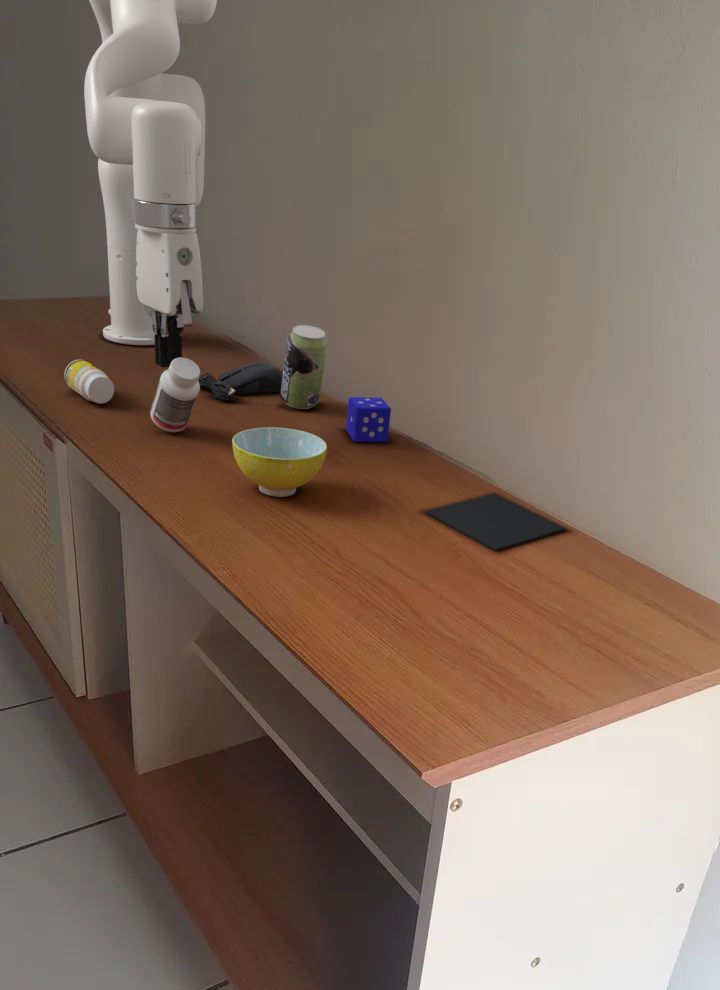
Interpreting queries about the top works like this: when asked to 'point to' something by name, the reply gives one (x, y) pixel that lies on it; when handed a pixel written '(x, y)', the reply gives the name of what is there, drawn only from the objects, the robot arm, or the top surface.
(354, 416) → the die
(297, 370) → the beverage can
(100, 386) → the supplement bottle
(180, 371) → the pill bottle
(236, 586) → the top surface
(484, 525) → the mat
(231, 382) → the computer mouse
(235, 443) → the bowl
